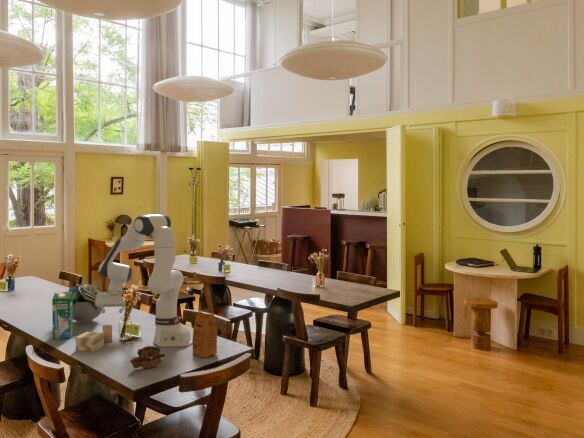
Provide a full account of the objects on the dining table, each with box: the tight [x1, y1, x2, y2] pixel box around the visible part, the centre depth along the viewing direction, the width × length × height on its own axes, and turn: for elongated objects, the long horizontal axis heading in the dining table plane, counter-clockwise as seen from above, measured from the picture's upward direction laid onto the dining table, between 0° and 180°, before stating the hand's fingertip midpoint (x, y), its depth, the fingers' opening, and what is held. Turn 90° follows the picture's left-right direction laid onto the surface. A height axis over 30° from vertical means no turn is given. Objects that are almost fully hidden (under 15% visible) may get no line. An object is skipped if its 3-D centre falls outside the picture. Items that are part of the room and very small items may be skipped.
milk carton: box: [51, 291, 74, 340], centre depth 282 cm, size 9×9×25 cm
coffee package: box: [191, 310, 218, 359], centre depth 257 cm, size 10×12×22 cm
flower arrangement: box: [66, 283, 103, 325], centre depth 311 cm, size 25×25×24 cm
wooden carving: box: [129, 345, 166, 369], centre depth 238 cm, size 16×5×10 cm, turn 126°
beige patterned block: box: [75, 331, 105, 353], centre depth 264 cm, size 10×10×7 cm
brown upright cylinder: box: [102, 324, 113, 344], centre depth 275 cm, size 5×5×9 cm
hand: (111, 312), depth 284 cm, fingers open, 8 cm apart
